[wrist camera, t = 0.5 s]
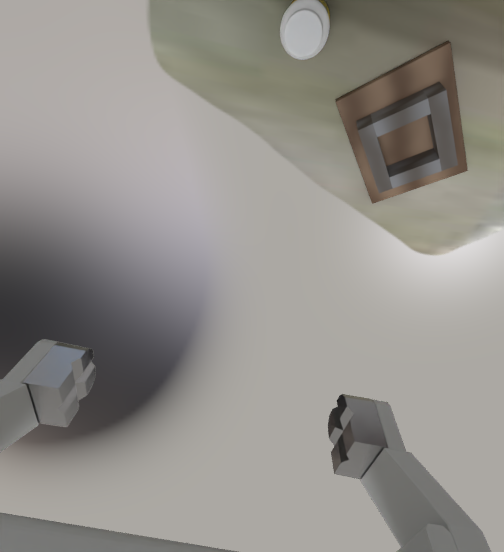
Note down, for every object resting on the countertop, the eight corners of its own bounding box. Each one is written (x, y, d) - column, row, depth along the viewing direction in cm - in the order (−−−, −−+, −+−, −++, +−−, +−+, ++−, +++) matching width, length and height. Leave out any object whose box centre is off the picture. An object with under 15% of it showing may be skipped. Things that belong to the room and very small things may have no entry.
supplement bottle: (336, -2, 37) (338, 9, 30) (320, 52, 41) (319, 72, 34) (292, -15, 37) (284, -6, 30) (280, 41, 41) (271, 59, 34)
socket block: (448, 40, 38) (458, 49, 35) (465, 167, 48) (474, 182, 45) (335, 99, 45) (336, 110, 42) (371, 200, 55) (374, 215, 52)
